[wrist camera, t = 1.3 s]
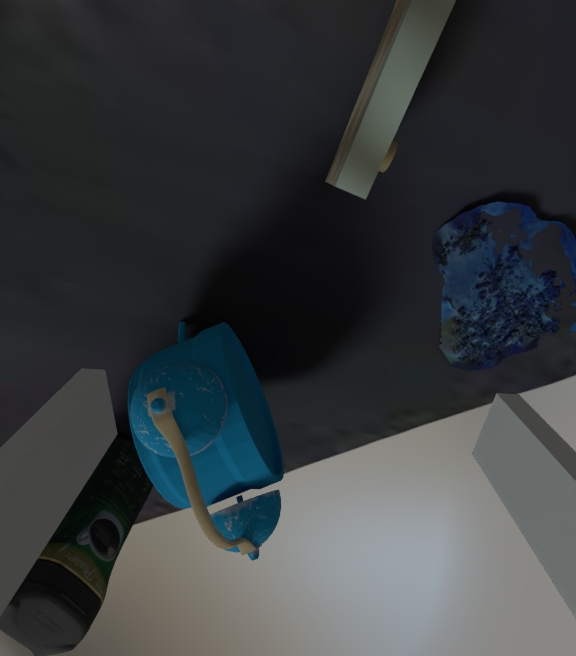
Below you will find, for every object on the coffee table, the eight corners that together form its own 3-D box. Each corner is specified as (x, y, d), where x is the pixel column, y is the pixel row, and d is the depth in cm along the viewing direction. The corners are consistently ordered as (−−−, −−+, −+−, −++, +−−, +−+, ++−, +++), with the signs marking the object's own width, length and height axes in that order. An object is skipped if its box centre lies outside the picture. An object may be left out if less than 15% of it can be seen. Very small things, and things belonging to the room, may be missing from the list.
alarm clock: (150, 315, 36) (4, 470, 17) (242, 283, 34) (184, 418, 16) (218, 431, 42) (163, 630, 24) (296, 410, 41) (300, 605, 23)
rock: (445, 372, 38) (452, 382, 37) (414, 225, 32) (421, 228, 30) (582, 331, 36) (598, 339, 35) (580, 165, 30) (599, 164, 28)
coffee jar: (75, 443, 43) (-62, 618, 27) (128, 426, 42) (19, 599, 25) (117, 492, 47) (21, 672, 30) (167, 478, 46) (95, 658, 29)
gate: (455, -160, 20) (571, -391, 12) (502, -131, 21) (647, -334, 12) (322, 180, 28) (335, 186, 20) (358, 195, 29) (385, 208, 20)
